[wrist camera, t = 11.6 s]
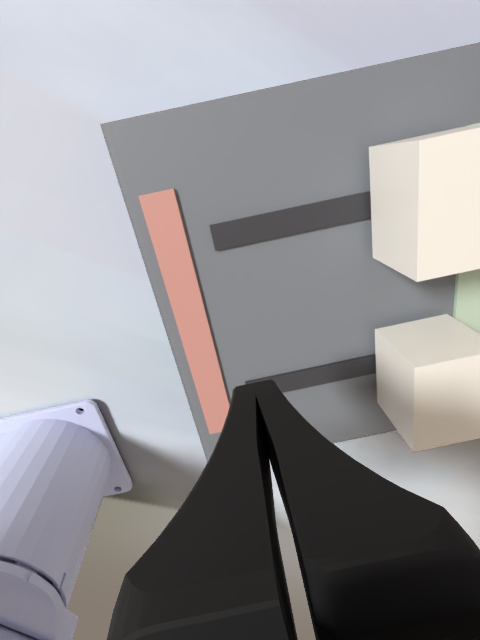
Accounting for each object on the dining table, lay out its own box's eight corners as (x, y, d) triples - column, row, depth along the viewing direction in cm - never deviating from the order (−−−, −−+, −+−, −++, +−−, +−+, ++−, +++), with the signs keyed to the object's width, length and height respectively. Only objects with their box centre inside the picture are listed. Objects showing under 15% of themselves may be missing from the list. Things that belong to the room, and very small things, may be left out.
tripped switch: (372, 257, 17) (416, 281, 14) (368, 147, 15) (419, 140, 11) (451, 240, 17) (517, 260, 13) (458, 127, 15) (538, 114, 11)
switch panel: (209, 446, 24) (209, 471, 22) (112, 129, 16) (98, 123, 14) (460, 393, 24) (483, 414, 22) (490, 47, 16) (529, 30, 14)
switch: (377, 402, 21) (413, 452, 17) (374, 329, 19) (414, 368, 15) (442, 388, 21) (492, 435, 17) (446, 313, 19) (504, 349, 15)
